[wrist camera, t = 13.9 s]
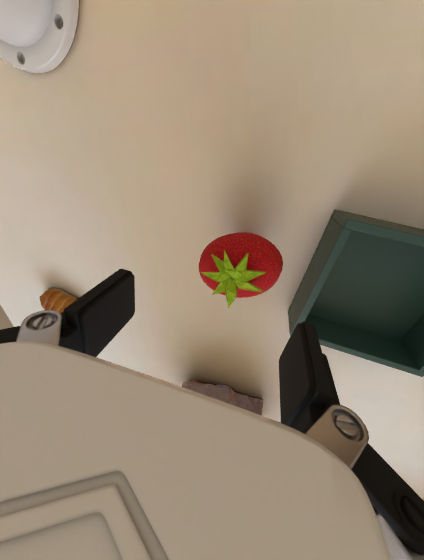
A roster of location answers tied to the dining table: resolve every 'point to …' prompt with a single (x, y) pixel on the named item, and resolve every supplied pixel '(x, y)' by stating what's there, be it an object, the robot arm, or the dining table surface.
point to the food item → (226, 395)
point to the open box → (366, 291)
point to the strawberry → (240, 265)
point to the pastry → (56, 299)
